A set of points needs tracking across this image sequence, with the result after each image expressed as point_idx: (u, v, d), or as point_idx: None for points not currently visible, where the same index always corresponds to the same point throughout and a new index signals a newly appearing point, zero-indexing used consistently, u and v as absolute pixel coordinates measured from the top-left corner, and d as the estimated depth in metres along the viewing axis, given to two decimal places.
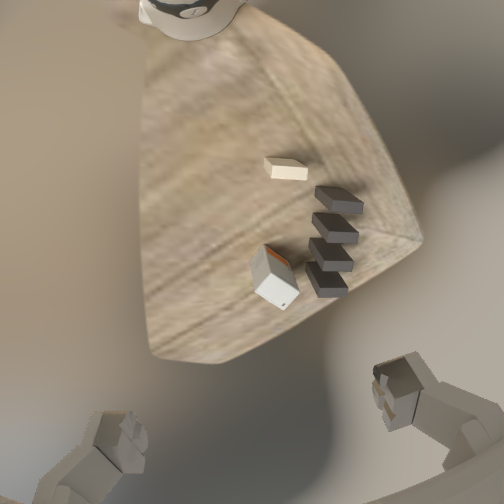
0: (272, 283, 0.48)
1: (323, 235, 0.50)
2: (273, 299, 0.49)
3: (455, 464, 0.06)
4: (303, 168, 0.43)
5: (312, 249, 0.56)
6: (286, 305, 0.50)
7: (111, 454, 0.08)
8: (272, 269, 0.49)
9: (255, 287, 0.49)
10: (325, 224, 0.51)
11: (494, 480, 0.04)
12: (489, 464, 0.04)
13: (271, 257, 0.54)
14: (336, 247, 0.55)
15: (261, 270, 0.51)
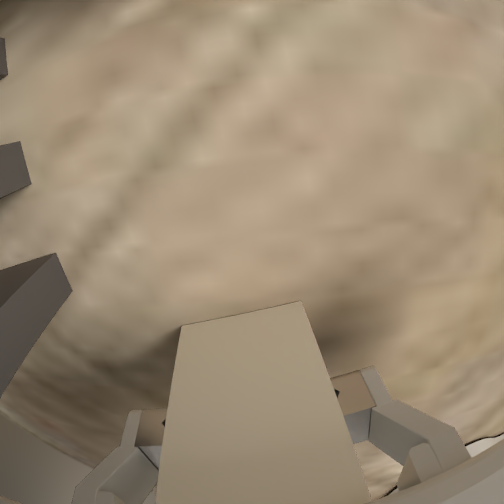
0: None
1: None
2: None
3: (406, 486, 0.06)
4: None
5: None
6: None
7: (154, 454, 0.08)
8: None
9: None
10: None
11: (494, 480, 0.04)
12: (489, 464, 0.04)
13: None
14: None
15: None
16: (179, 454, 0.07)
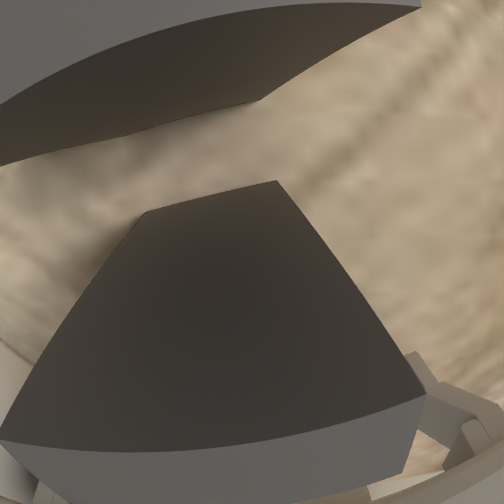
0: None
1: None
2: None
3: (455, 464, 0.06)
4: None
5: None
6: None
7: None
8: None
9: None
10: (270, 78, 0.04)
11: (494, 480, 0.04)
12: (489, 464, 0.04)
13: None
14: None
15: None
16: None
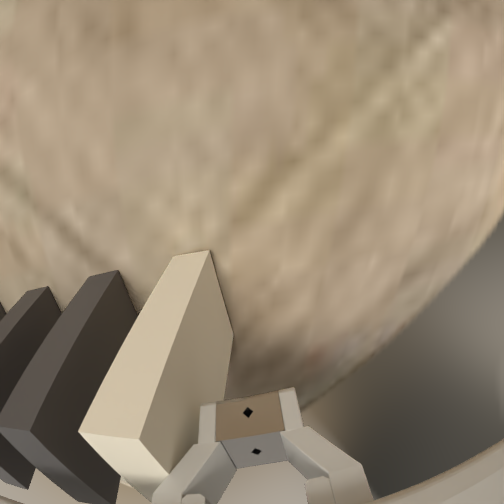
0: None
1: None
2: None
3: None
4: None
5: None
6: None
7: (235, 447, 0.08)
8: None
9: None
10: None
11: (494, 480, 0.04)
12: (489, 464, 0.04)
13: None
14: None
15: None
16: None
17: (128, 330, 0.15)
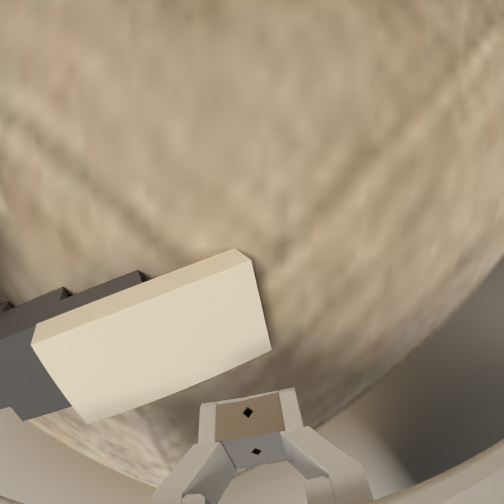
0: None
1: None
2: None
3: None
4: None
5: None
6: None
7: (235, 448, 0.08)
8: None
9: None
10: None
11: (494, 480, 0.04)
12: (489, 464, 0.04)
13: None
14: None
15: None
16: None
17: None
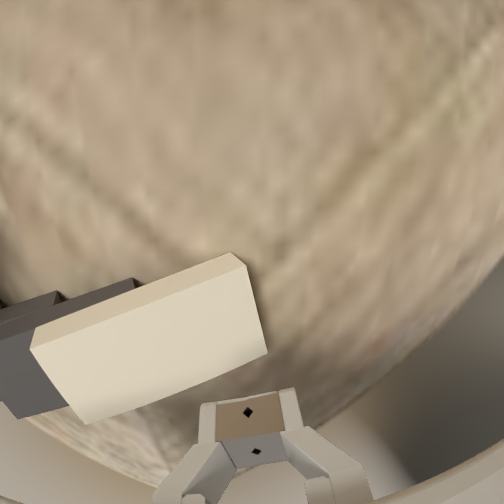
0: None
1: None
2: None
3: None
4: (79, 415, 0.12)
5: None
6: None
7: (235, 447, 0.08)
8: None
9: None
10: None
11: (494, 480, 0.04)
12: (489, 464, 0.04)
13: None
14: None
15: None
16: None
17: None
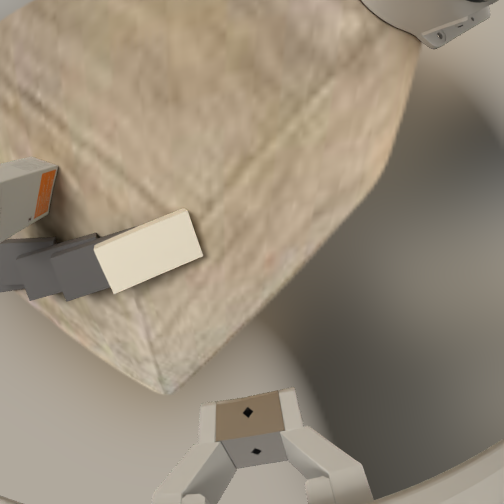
0: None
1: (34, 250, 0.30)
2: None
3: None
4: (111, 288, 0.30)
5: (33, 239, 0.31)
6: None
7: (235, 447, 0.08)
8: (5, 186, 0.20)
9: None
10: (42, 256, 0.29)
11: (494, 480, 0.04)
12: (489, 464, 0.04)
13: (34, 182, 0.25)
14: None
15: (4, 172, 0.21)
16: None
17: None
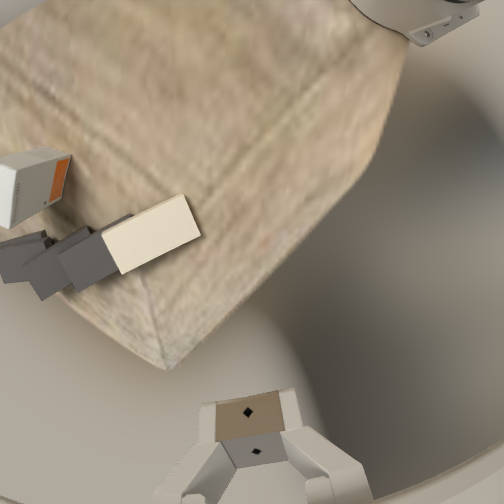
0: (4, 181, 0.22)
1: (36, 255, 0.33)
2: None
3: None
4: (119, 269, 0.34)
5: (31, 241, 0.34)
6: None
7: (235, 447, 0.08)
8: (25, 172, 0.23)
9: None
10: (44, 257, 0.32)
11: (494, 480, 0.04)
12: (489, 464, 0.04)
13: (50, 168, 0.28)
14: None
15: (23, 160, 0.24)
16: None
17: None
